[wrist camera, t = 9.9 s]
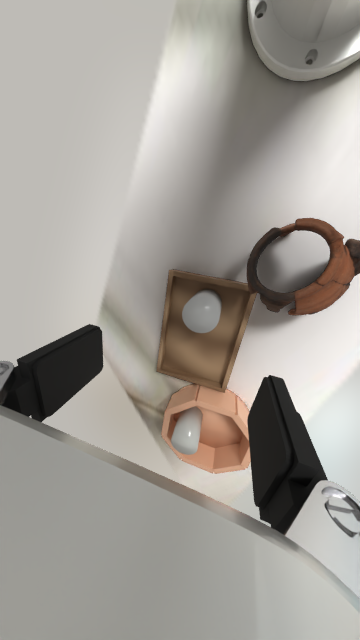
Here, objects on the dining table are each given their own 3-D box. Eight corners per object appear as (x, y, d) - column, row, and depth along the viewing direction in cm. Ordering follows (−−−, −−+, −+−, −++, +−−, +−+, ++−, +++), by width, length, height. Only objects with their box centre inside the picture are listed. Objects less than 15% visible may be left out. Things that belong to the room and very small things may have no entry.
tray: (173, 269, 24) (169, 270, 22) (256, 285, 22) (258, 287, 20) (160, 365, 30) (156, 371, 28) (225, 385, 28) (224, 392, 26)
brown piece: (268, 325, 24) (249, 322, 17) (252, 261, 25) (230, 237, 19) (404, 298, 17) (460, 277, 10) (370, 212, 18) (399, 146, 12)
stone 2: (204, 408, 29) (199, 440, 25) (201, 425, 31) (195, 458, 26) (181, 402, 30) (172, 431, 25) (179, 418, 32) (169, 449, 27)
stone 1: (195, 285, 23) (185, 293, 18) (225, 292, 23) (223, 302, 18) (190, 313, 25) (179, 328, 20) (218, 320, 24) (214, 337, 19)
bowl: (176, 372, 30) (168, 390, 26) (263, 399, 27) (268, 423, 23) (166, 429, 35) (158, 451, 31) (238, 456, 32) (239, 484, 28)
